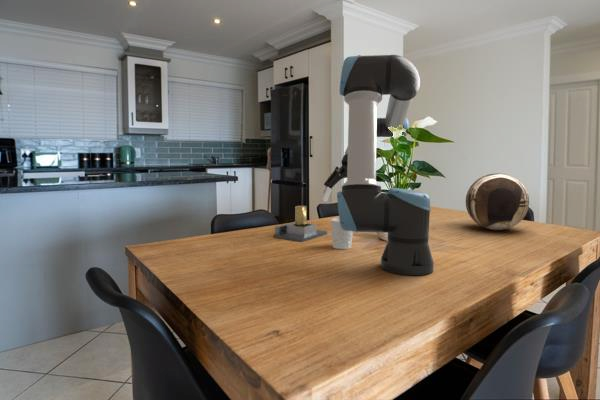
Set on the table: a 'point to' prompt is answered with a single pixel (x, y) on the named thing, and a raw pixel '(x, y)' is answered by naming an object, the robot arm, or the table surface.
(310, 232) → the jig
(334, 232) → the white cup
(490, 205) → the sphere
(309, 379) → the table surface
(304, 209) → the bushing
